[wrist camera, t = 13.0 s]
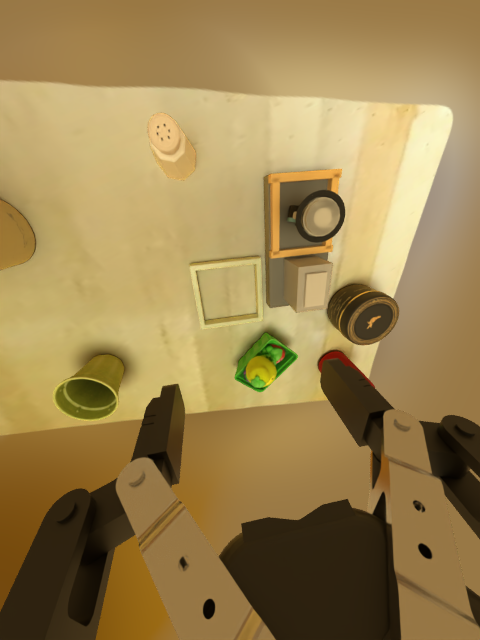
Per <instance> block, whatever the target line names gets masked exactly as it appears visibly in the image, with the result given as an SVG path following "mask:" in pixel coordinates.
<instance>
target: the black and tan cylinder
mask: <svg viewBox="0 0 480 640" xmlns="http://www.w3.org/2000/svg"><path fill="white" fill-rule="evenodd" d="M316 197H321V198H318V199H315V200H314V201H312V202H311V203H310V204H308V203H309V202H310V201H311V200H313V199H314V198H316ZM344 218H345V206H344V203H343V201H342V199H341V198H340V196H339V195H338V194H336V193H335V192H333V191H330V190H319V191H316V192H313V193H311V194H310V195H308V196H307V197H306V198H305V199H304V200H303V201H302V202H301V204H300V205H299V206H297V205H290V207H289V213H288V218H287V221H289V222H296V223H295V225H296V227H297V230H298V232H299V234H300V235H301V236H302V237H303V238H304V239H305V240H307V241H310V242H314V243H320V242H324V241H327V240H329V239H330V238H332V237H333V236H334V235H335V234H336V233H337V232H338V231H339V230H340V228H341V226H342V224H343V222H344ZM304 229H305V230H306V231H307V232H308V233H309V234H311V235H313V236H310V235H308V234H307V233H306V232H305V231H304Z"/></svg>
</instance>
